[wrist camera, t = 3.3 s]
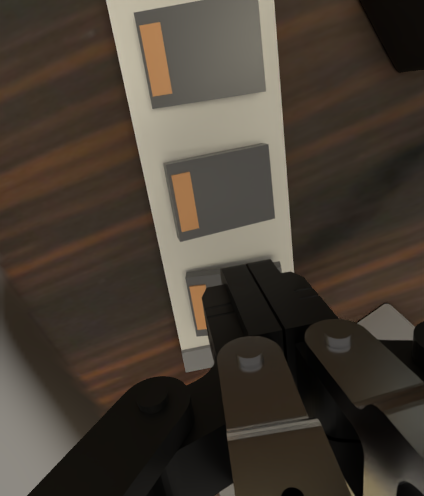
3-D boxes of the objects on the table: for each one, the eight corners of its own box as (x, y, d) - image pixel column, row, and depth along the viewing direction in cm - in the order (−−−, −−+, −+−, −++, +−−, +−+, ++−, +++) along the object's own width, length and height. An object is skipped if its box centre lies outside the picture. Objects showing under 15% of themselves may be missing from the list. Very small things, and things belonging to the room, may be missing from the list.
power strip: (288, 326, 36) (300, 348, 33) (183, 348, 36) (185, 372, 32) (255, -63, 25) (269, -86, 22) (100, -42, 24) (91, -63, 21)
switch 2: (284, 320, 31) (286, 328, 29) (197, 329, 31) (196, 337, 30) (279, 261, 29) (281, 267, 28) (186, 271, 29) (184, 278, 28)
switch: (264, 91, 24) (266, 91, 23) (155, 108, 25) (151, 109, 24) (256, -6, 22) (257, -11, 21) (137, 15, 23) (133, 12, 22)
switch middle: (269, 214, 28) (275, 218, 27) (177, 237, 27) (181, 242, 26) (262, 143, 26) (269, 144, 25) (162, 162, 25) (166, 165, 24)
